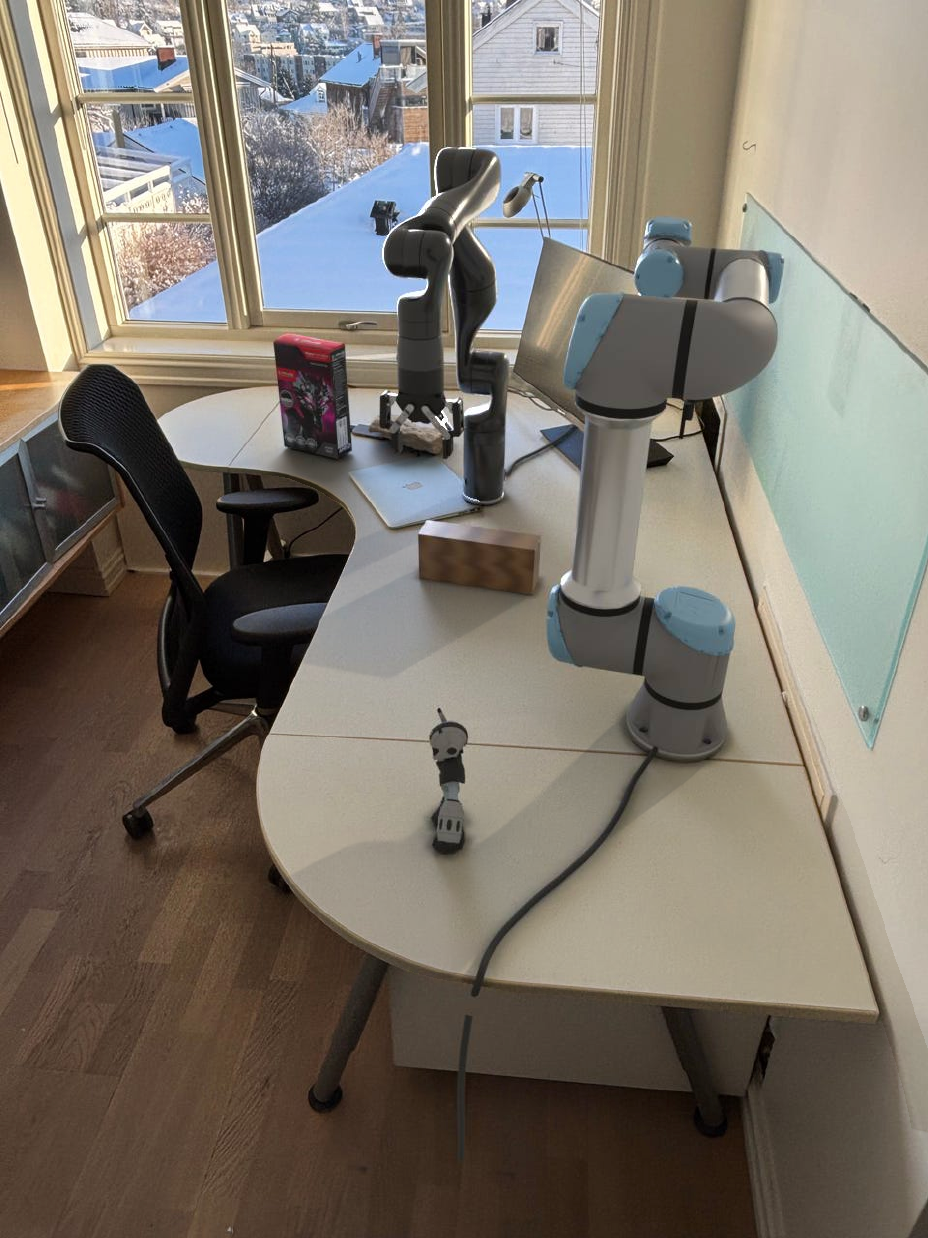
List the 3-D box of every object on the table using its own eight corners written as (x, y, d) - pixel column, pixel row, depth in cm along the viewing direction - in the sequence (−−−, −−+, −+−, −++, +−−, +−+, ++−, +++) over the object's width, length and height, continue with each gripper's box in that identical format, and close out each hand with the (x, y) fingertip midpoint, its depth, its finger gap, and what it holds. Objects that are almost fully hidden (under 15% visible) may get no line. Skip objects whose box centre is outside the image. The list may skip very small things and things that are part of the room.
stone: (352, 437, 229) (357, 414, 227) (374, 429, 242) (378, 406, 240) (431, 462, 226) (437, 438, 223) (448, 452, 239) (454, 429, 237)
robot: (470, 888, 117) (472, 772, 106) (432, 889, 117) (430, 773, 106) (463, 780, 133) (464, 669, 122) (429, 781, 133) (427, 670, 122)
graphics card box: (282, 447, 232) (270, 339, 217) (298, 438, 237) (288, 331, 222) (338, 461, 225) (330, 350, 210) (354, 451, 230) (347, 342, 215)
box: (538, 579, 180) (541, 535, 175) (532, 595, 175) (534, 550, 170) (427, 563, 185) (427, 519, 180) (419, 578, 180) (417, 533, 175)
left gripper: (469, 358, 150) (468, 450, 159) (386, 350, 153) (390, 441, 162) (456, 373, 144) (456, 468, 153) (370, 364, 147) (375, 458, 156)
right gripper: (733, 315, 158) (713, 431, 170) (589, 303, 164) (580, 417, 176) (732, 327, 152) (711, 447, 164) (582, 315, 158) (573, 432, 170)
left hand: (422, 454), depth 158 cm, fingers open, 8 cm apart
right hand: (643, 432), depth 170 cm, fingers open, 13 cm apart
